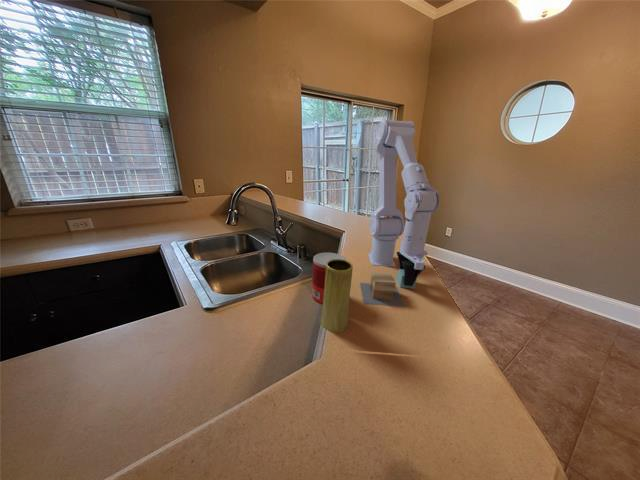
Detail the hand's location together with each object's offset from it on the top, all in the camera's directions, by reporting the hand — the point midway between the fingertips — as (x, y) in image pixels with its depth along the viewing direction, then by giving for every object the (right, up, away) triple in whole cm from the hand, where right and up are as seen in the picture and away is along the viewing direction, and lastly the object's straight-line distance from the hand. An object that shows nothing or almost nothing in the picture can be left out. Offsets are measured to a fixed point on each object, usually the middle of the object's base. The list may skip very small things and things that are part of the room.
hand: (406, 280), depth 70 cm
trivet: (-8, -3, -5) cm, 10 cm away
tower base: (-8, -3, -5) cm, 10 cm away
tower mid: (-8, 0, -6) cm, 10 cm away
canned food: (-23, -3, -7) cm, 24 cm away
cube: (0, -1, +1) cm, 1 cm away
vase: (-21, -7, -16) cm, 28 cm away
